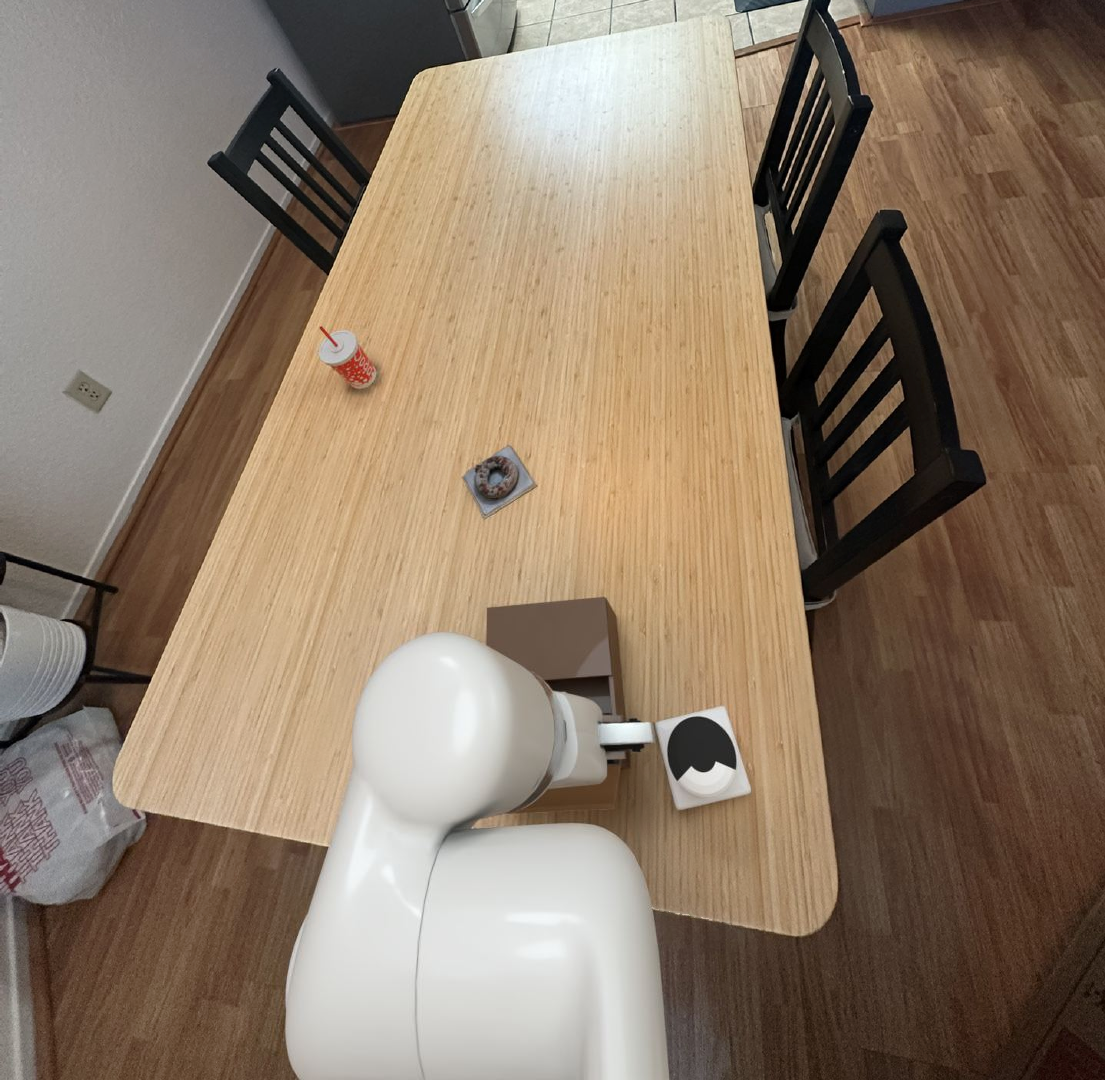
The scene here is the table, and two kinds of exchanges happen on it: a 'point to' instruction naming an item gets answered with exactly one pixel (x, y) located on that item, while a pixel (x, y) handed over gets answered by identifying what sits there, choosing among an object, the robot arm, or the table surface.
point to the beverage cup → (347, 358)
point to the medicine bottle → (702, 758)
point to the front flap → (578, 796)
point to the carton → (565, 648)
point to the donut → (498, 481)
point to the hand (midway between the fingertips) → (554, 743)
